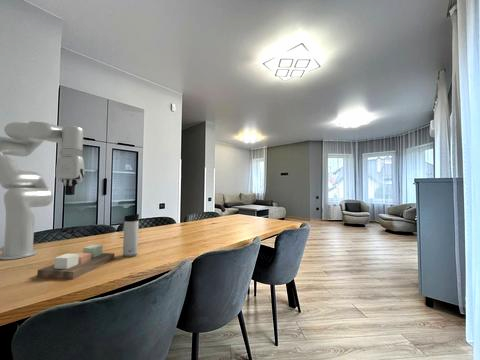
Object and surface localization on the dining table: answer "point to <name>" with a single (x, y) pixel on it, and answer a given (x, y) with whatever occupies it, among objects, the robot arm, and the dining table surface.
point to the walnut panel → (75, 268)
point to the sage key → (93, 250)
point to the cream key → (66, 261)
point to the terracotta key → (84, 257)
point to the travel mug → (130, 235)
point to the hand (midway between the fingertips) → (69, 194)
